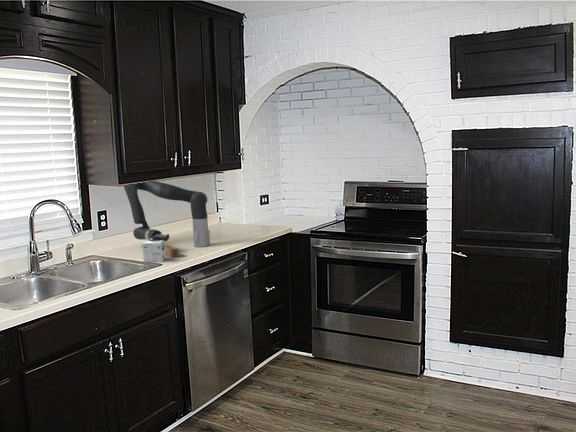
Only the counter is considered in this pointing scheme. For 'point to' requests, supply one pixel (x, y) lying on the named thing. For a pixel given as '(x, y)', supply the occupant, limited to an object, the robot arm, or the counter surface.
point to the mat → (174, 257)
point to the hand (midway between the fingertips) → (166, 239)
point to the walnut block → (171, 251)
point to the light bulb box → (153, 251)
